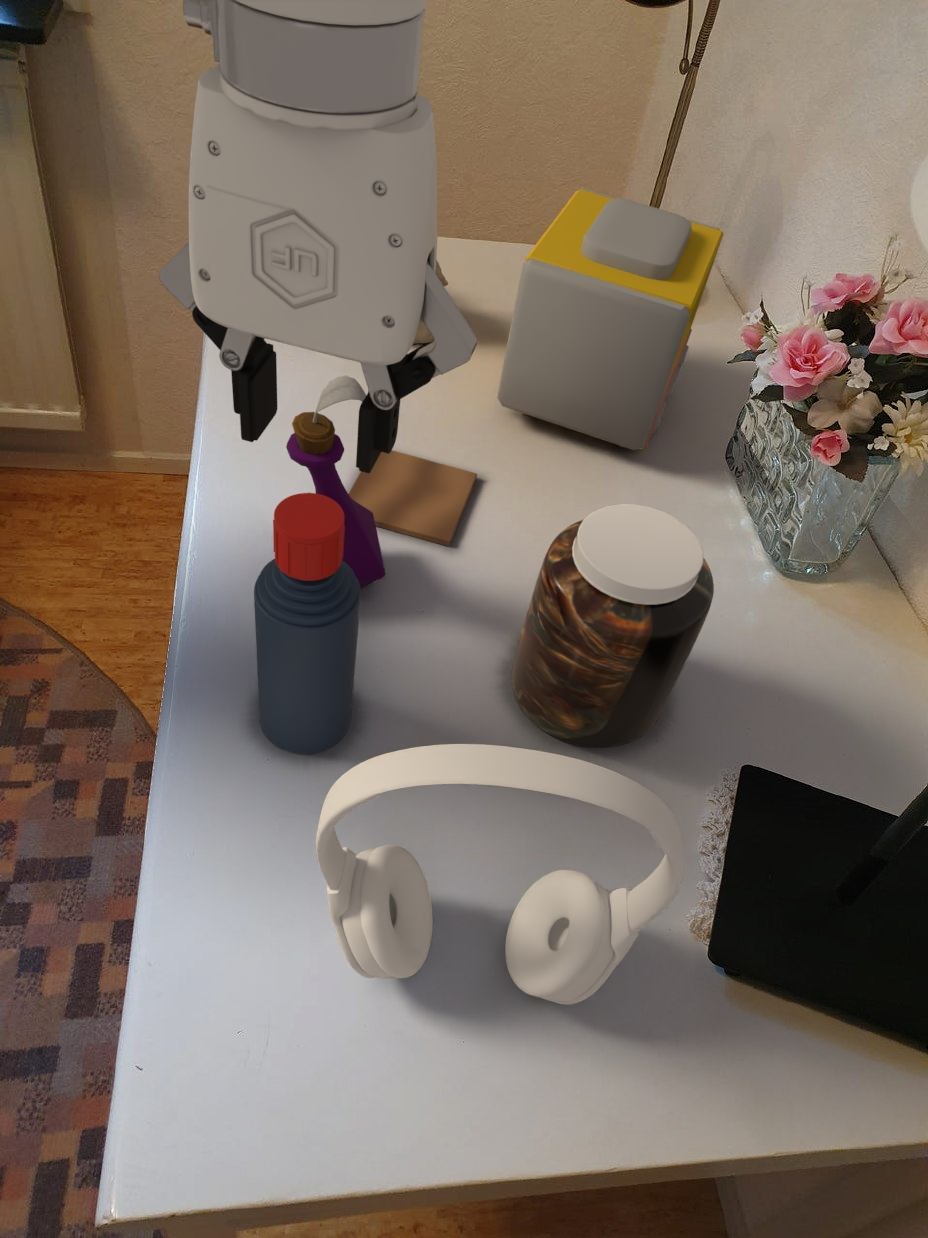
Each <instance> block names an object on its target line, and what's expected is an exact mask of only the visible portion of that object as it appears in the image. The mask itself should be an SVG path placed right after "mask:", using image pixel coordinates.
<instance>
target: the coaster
mask: <svg viewBox="0 0 928 1238" xmlns="http://www.w3.org/2000/svg"><path fill="white" fill-rule="evenodd" d="M477 478H478V473H476V472H473V471H469V470H465V469H462V468H459V467H454V466H451V465H447V464H444V463H439V462H436V461H432V460H429V459H425V458H422V457H418V456H414V455H410V454H408V453H407V454H406V453H404V452H399V451H396V450H393V449H392V450H391V452H390V453H389V454H388V453H384V452H381V454H380V456H379V457H378V459H377V461H376V463H375V465H374V467H373V468H372V470H371V472H370V473H365V472H361V471H359V474H358V475H357V478H356V479H355V481H354V483H353V484H352V487H351V488H350V490H349V492H348V494H349V496H350V497H351V498H352V499H353V500H354V501H356V502H357V503H359V504H360V505H362V506H363V507H365V508H367V509H368V510H370V511H371V512H372V513H373V516H374V521H375V525H376V527H378V528H382V529H385V530H389V531H393V532H397V533H399V534H402V535H407V536H411V537H415V538H418V539H421V540H425V541H428V542H432V543H435V544H439V545H442V546H446V547H450V545H451V543H452V540H453V537H454V535H455V534H456V530H457V527H458V525H459V523H460V520H461V518H462V515H463V513H464V511H465V508H466V505H467V504H468V500H469V498H470V496H471V493H472V491H473V488H474V486H475V483H476V481H477Z"/></svg>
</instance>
